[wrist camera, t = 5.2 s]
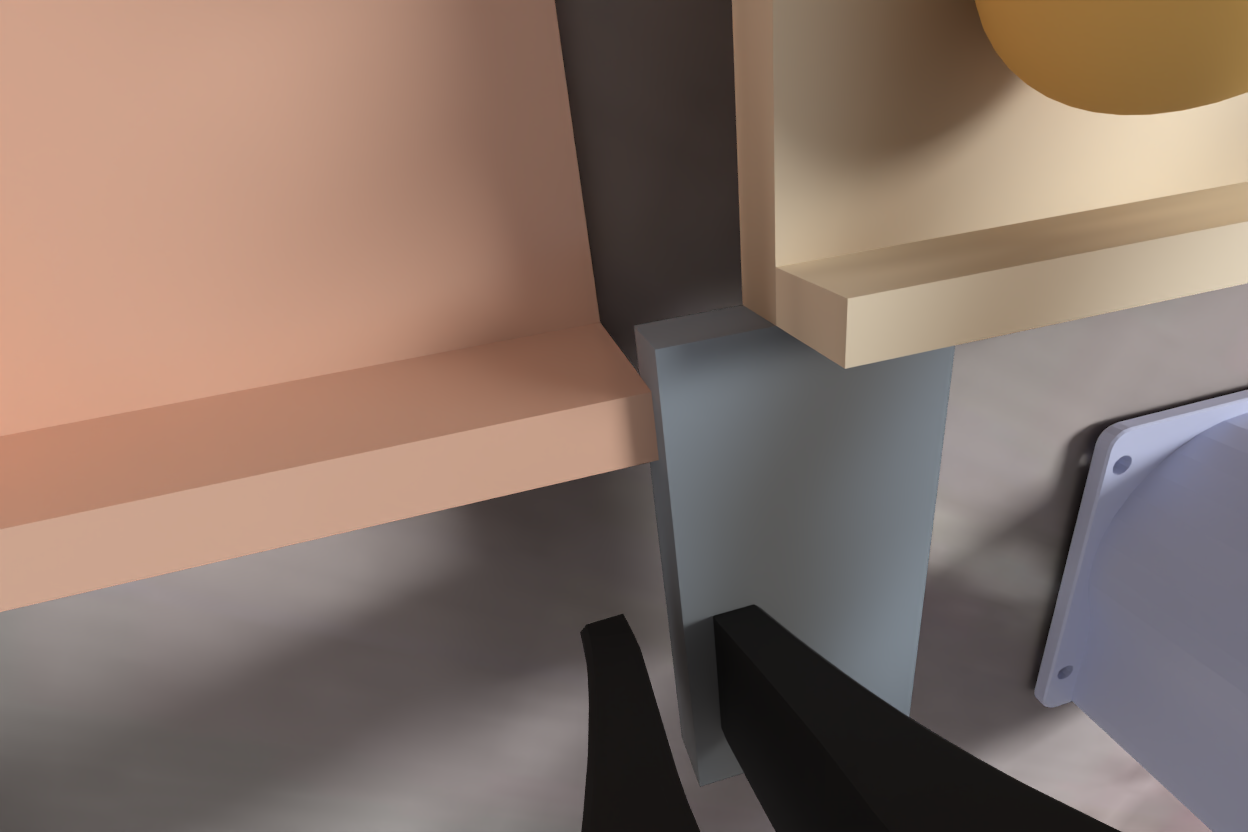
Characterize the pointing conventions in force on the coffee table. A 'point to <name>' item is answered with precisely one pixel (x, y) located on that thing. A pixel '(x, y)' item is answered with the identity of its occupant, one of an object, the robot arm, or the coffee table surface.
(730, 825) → the coffee table surface
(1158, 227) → the lever
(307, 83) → the tray
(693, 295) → the coffee table surface
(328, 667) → the coffee table surface
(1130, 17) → the ball
